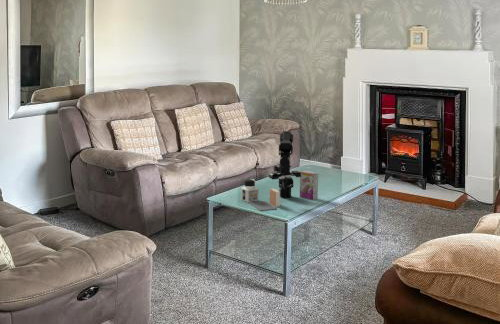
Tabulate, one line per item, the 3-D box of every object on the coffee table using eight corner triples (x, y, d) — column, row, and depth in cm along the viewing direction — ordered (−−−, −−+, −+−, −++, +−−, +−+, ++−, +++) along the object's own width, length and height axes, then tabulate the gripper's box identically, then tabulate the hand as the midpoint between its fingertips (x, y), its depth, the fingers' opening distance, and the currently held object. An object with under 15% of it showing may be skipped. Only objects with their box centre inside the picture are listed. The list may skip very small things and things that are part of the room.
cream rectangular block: (274, 202, 355) (274, 188, 354) (279, 206, 348) (279, 191, 346) (269, 203, 354) (269, 188, 353) (275, 206, 347) (275, 192, 345)
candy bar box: (299, 196, 369) (299, 171, 366) (304, 195, 373) (304, 170, 369) (312, 200, 361) (313, 174, 358) (317, 199, 365) (318, 173, 361)
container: (248, 202, 356) (248, 181, 353) (241, 199, 362) (241, 179, 360) (258, 200, 361) (258, 179, 358) (251, 197, 367) (251, 177, 364)
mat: (264, 201, 359) (264, 200, 358) (276, 209, 342) (276, 208, 342) (248, 203, 355) (248, 202, 355) (260, 210, 338) (260, 210, 338)
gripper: (293, 159, 359) (293, 184, 363) (265, 162, 353) (265, 187, 356) (301, 163, 349) (301, 188, 352) (272, 165, 343) (272, 191, 346)
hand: (284, 189), depth 352 cm, fingers closed
